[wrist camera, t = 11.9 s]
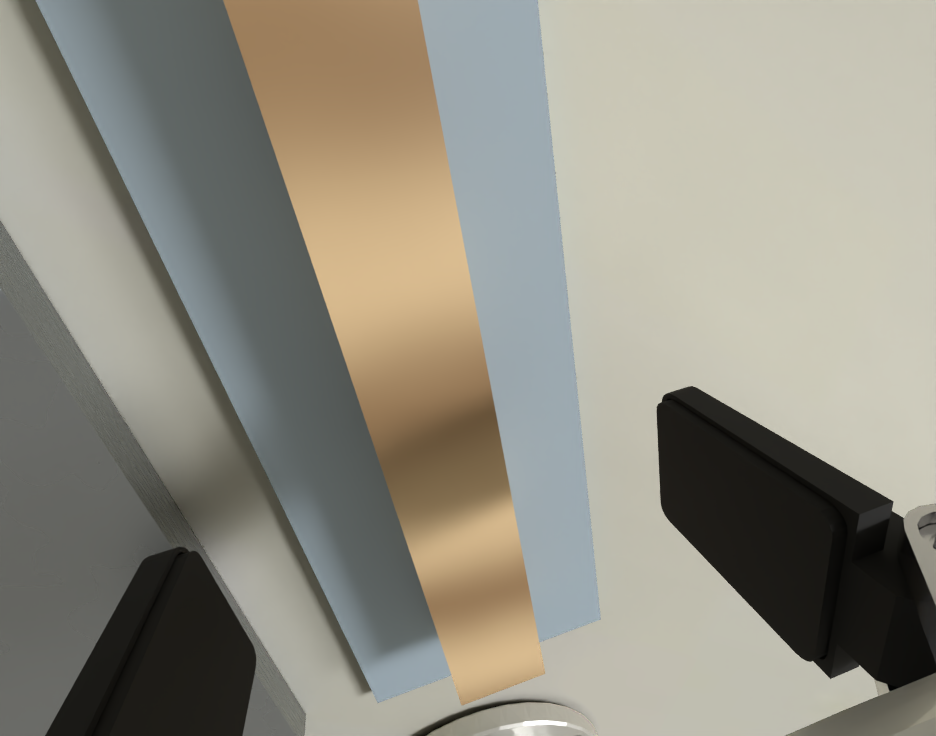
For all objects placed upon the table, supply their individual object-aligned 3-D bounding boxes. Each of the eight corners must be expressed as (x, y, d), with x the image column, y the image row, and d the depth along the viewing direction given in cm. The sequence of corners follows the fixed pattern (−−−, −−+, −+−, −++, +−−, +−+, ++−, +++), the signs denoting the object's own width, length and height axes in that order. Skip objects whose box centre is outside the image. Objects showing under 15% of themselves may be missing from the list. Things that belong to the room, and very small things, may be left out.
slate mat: (594, 607, 21) (600, 619, 20) (376, 688, 20) (377, 702, 19) (487, -369, 9) (496, -405, 8) (-110, -331, 7) (-144, -368, 7)
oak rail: (516, 600, 19) (545, 673, 16) (444, 626, 18) (462, 705, 16) (358, -149, 9) (364, -281, 6) (200, -130, 9) (134, -262, 6)
